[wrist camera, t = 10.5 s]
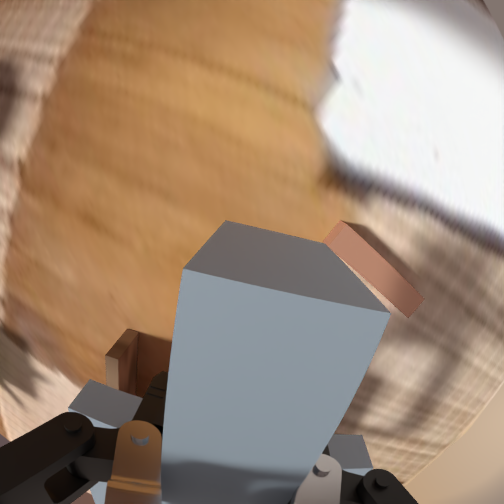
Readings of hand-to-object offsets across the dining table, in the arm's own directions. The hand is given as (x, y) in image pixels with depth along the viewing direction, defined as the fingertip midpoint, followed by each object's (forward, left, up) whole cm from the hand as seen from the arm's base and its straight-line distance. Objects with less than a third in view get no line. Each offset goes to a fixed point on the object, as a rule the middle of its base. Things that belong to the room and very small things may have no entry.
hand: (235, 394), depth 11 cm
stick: (-3, +10, -15) cm, 18 cm away
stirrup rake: (+5, 0, -1) cm, 5 cm away
